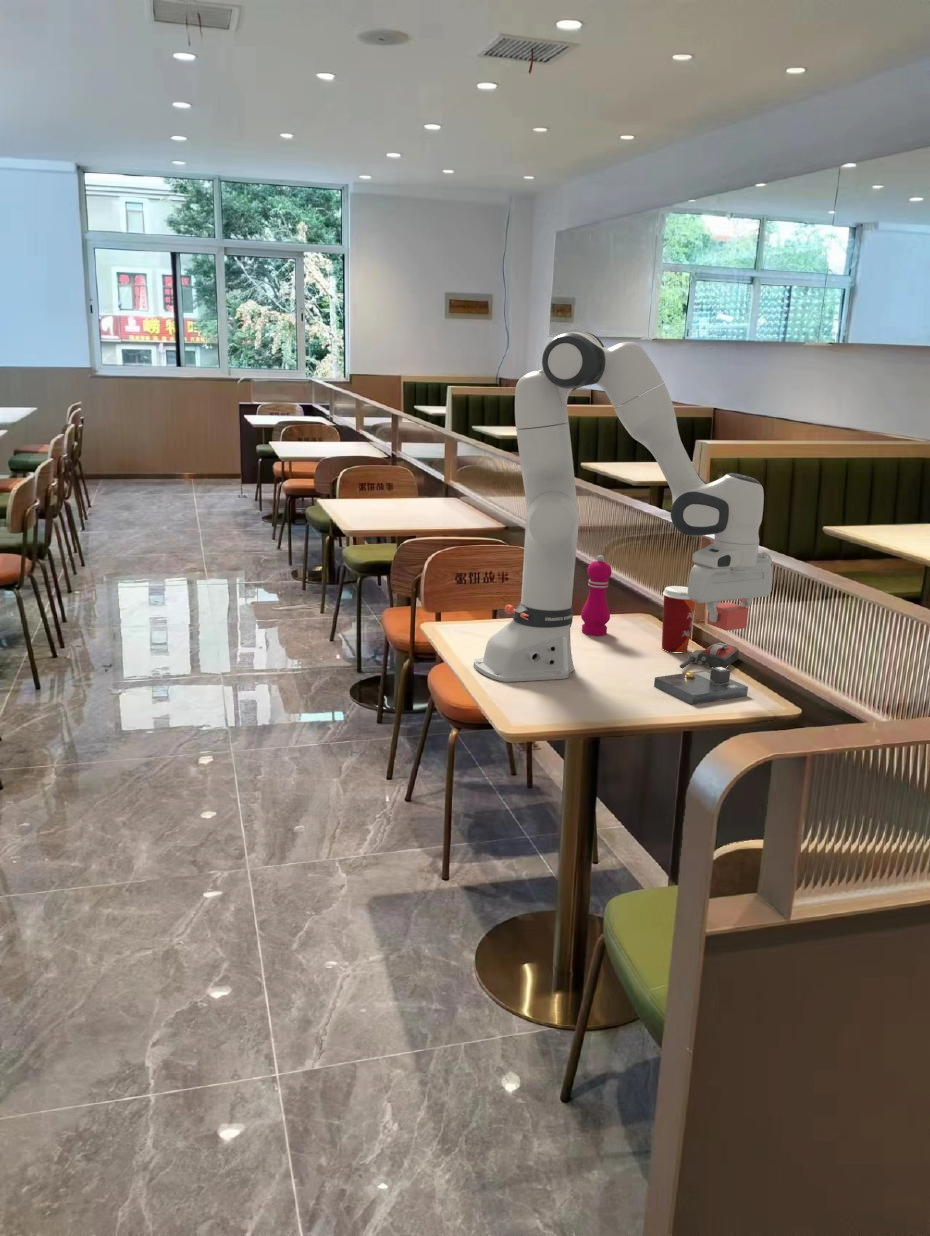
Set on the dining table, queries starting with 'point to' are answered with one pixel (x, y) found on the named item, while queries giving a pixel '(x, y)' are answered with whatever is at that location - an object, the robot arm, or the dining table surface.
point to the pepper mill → (597, 599)
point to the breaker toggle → (720, 675)
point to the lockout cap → (730, 616)
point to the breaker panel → (699, 687)
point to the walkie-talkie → (713, 656)
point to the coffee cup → (677, 619)
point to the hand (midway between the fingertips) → (727, 619)
